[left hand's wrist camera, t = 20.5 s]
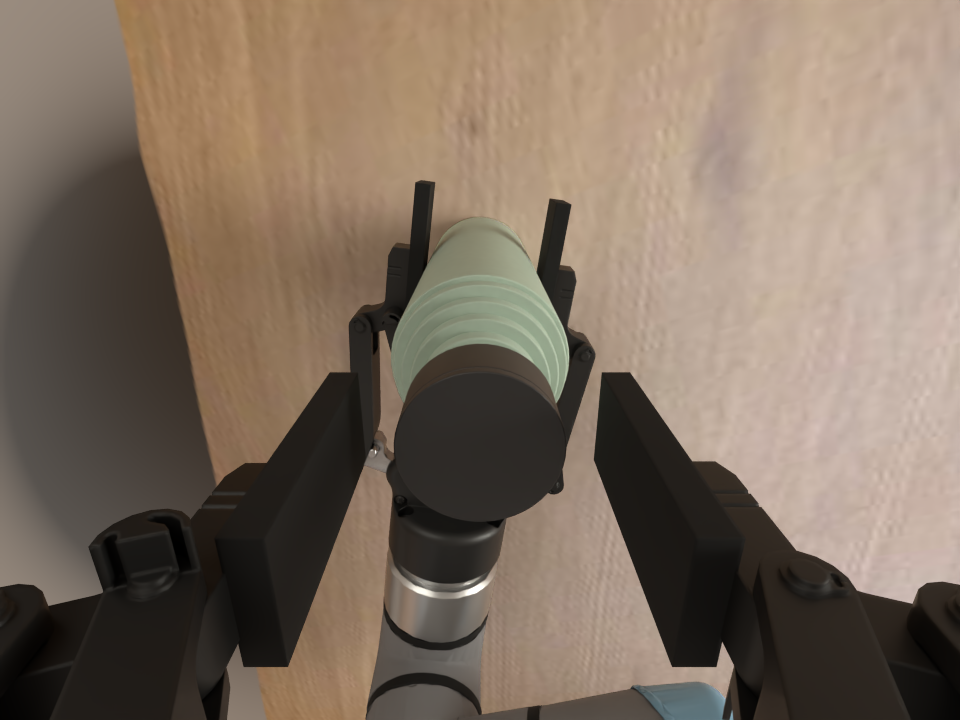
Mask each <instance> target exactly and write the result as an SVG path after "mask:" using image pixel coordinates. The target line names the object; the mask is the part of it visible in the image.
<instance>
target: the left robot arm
mask: <svg viewBox="0 0 960 720" xmlns="http://www.w3.org/2000/svg"><path fill="white" fill-rule="evenodd" d="M365 461H366V453H365V442H364V432H363V421H362V410H361V399H360V388H359V377H358V372H330V373H329V375H328V376H327V378H326V379H325V380H324V382H323V383H322V385H321V386H320V388H319V389H318V390H317V392H316V393H315V395H314V396H313V398H312V399H311V400H310V402H309V403H308V405H307V406H306V408H305V409H304V410H303V412H302V413H301V415H300V416H299V418H298V419H297V420H296V422H295V423H294V425H293V426H292V428H291V429H290V430H289V432H288V433H287V435H286V436H285V438H284V439H283V441H282V442H281V443H280V445H279V446H278V448H277V449H276V451H275V452H274V453H273V455H272V456H271V458H270V459H269V461H268V462H267V463H245V464H243V465H242V466H240V467H239V468H237V469H236V470H234V471H233V472H231V473H230V474H228V475H227V476H225V477H224V478H223V480H222V481H221V482H220V483H219V485H218V486H217V487H216V488H215V490H214V491H213V492H212V496H209V497H208V498H207V500H206V501H205V502H204V503H203V505H202V509H199V510H198V511H197V512H196V514H195V515H194V516H193V517H192V518H191V520H190V518H189V517H188V516H187V515H186V514H184V513H183V512H182V511H177V510H172V509H160V510H150V511H146V512H143V513H139V514H136V515H132V516H130V517H128V518H125V519H123V520H121V521H119V522H117V523H115V524H113V525H111V526H110V527H109V528H107V529H106V530H104V531H103V532H102V533H100V534H99V535H98V536H97V537H96V538H95V539H94V541H93V542H92V543H91V544H90V546H89V550H90V553H91V556H92V559H93V562H94V565H95V568H96V571H97V574H98V577H99V580H100V583H101V586H102V589H103V593H101V594H98V595H95V596H90V597H86V598H82V599H77V600H73V601H69V602H64V603H60V604H55V605H51V606H48V604H47V602H46V599H45V597H44V594H43V592H42V591H41V590H40V589H38V588H37V587H35V586H34V585H24V584H16V585H10V586H5V587H0V720H227V713H228V704H229V694H230V683H229V677H228V672H227V668H226V667H227V664H228V663H229V661H230V658H231V657H232V654H233V653H234V651H235V649H236V647H237V645H238V644H239V649H240V653H241V657H242V662H243V666H244V667H288V665H289V663H290V660H291V657H292V655H293V652H294V649H295V647H296V644H297V641H298V639H299V636H300V633H301V631H302V628H303V626H304V623H305V620H306V618H307V615H308V612H309V610H310V607H311V604H312V602H313V599H314V596H315V594H316V591H317V588H318V586H319V583H320V580H321V578H322V575H323V573H324V570H325V567H326V565H327V562H328V559H329V557H330V554H331V551H332V549H333V546H334V543H335V541H336V538H337V535H338V533H339V530H340V527H341V525H342V522H343V520H344V517H345V514H346V512H347V509H348V506H349V504H350V501H351V498H352V496H353V493H354V490H355V488H356V485H357V482H358V480H359V477H360V474H361V472H362V469H363V466H364V464H365ZM594 461H595V464H596V467H597V469H598V472H599V474H600V477H601V480H602V482H603V485H604V488H605V490H606V493H607V496H608V498H609V501H610V504H611V506H612V509H613V512H614V514H615V517H616V520H617V522H618V525H619V527H620V530H621V533H622V535H623V538H624V541H625V543H626V546H627V549H628V551H629V554H630V557H631V559H632V562H633V565H634V567H635V570H636V573H637V575H638V578H639V580H640V583H641V586H642V588H643V591H644V594H645V596H646V599H647V602H648V604H649V607H650V610H651V612H652V615H653V618H654V620H655V623H656V626H657V628H658V631H659V633H660V636H661V639H662V641H663V644H664V647H665V649H666V652H667V655H668V657H669V660H670V663H671V665H672V667H716V666H717V662H718V657H719V653H720V649H721V644H722V642H723V644H724V646H725V648H726V650H727V652H728V654H729V656H730V658H731V660H732V662H733V664H734V668H733V672H732V676H731V680H730V684H729V688H728V692H727V696H726V701H725V705H724V710H723V716H722V719H723V720H730V717H731V713H732V712H733V720H960V585H958V584H952V583H947V582H933V583H926V584H925V585H924V586H922V587H921V588H919V589H918V592H917V594H916V597H915V599H914V602H913V604H910V603H906V602H902V601H897V600H893V599H888V598H884V597H880V596H875V595H871V594H866V593H863V592H860V591H857V590H856V589H855V587H854V586H853V584H852V583H851V581H850V580H849V579H848V577H846V576H845V575H844V574H843V573H842V572H840V571H839V570H838V569H837V568H835V567H834V566H833V565H831V564H829V563H827V562H825V561H823V560H821V559H819V558H817V557H815V556H812V555H809V554H806V553H802V552H799V551H796V550H795V548H794V547H793V546H792V545H791V543H790V542H789V541H788V540H787V538H786V537H785V536H784V535H783V533H782V532H781V531H780V530H779V528H778V527H777V526H776V525H775V524H774V522H773V521H772V520H771V519H770V517H769V516H768V515H767V514H766V512H765V511H764V510H763V509H762V507H759V504H758V502H757V501H756V500H755V499H754V497H753V496H752V495H751V494H748V490H747V489H746V487H745V486H744V485H743V484H742V483H741V481H740V480H739V479H738V478H737V476H736V475H735V474H733V473H732V472H730V471H729V470H727V469H726V468H724V467H723V466H721V465H720V464H718V463H717V462H692V461H691V459H690V458H689V456H688V455H687V453H686V452H685V451H684V449H683V448H682V446H681V445H680V443H679V442H678V441H677V439H676V438H675V436H674V435H673V433H672V432H671V430H670V429H669V428H668V426H667V425H666V423H665V422H664V420H663V419H662V418H661V416H660V415H659V413H658V412H657V410H656V409H655V408H654V406H653V405H652V403H651V402H650V400H649V399H648V398H647V396H646V395H645V393H644V392H643V390H642V389H641V388H640V386H639V385H638V383H637V382H636V380H635V379H634V378H633V376H632V375H631V373H630V372H602V377H601V388H600V399H599V410H598V421H597V431H596V442H595V453H594Z"/></svg>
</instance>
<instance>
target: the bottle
mask: <svg viewBox="0 0 960 720" xmlns="http://www.w3.org/2000/svg"><path fill="white" fill-rule="evenodd" d="M468 344H491V345H498V346H501V347H505V348H508V349H511V350H513V351H515V352H518V353H519V354H521V355H523V356H524V357H526V358H527V359H529V360H530V361H531V362H532V363H534V364H535V365H536V366H537V367H538V368H539V369H540V371H541V372H542V373H543V375H544V376H545V377H546V379H547V381H548V383H549V385H550V387H551V389H552V392H553V395H554V398H555V401H556V403H557V401H558V399H559V397H560V395H561V392H562V390H563V387H564V383H565V381H566V377H567V372H568V365H569V348H568V343H567V337H566V334H565V331H564V329H563V326H562V324H561V322H560V320H559V318H558V316H557V314H556V312H555V310H554V308H553V306H552V304H551V302H550V299H549V297H548V295H547V293H546V291H545V289H544V287H543V285H542V283H541V281H540V279H539V277H538V275H537V273H536V271H535V269H534V267H533V265H532V263H531V261H530V259H529V257H528V255H527V253H526V251H525V249H524V246H523V244H522V242H521V241H520V239H519V237H518V236H517V235H516V233H515V232H514V231H513V230H512V229H511V228H509V227H508V226H507V225H505V224H504V223H502V222H500V221H498V220H495V219H491V218H486V217H474V218H469V219H465V220H463V221H460V222H458V223H456V224H455V225H453V226H452V227H451V228H449V229H448V230H447V231H446V232H445V233H444V235H443V236H442V237H441V239H440V241H439V242H438V244H437V246H436V248H435V250H434V252H433V255H432V257H431V259H430V261H429V263H428V265H427V267H426V269H425V271H424V273H423V275H422V277H421V279H420V281H419V283H418V285H417V287H416V289H415V291H414V293H413V295H412V297H411V299H410V301H409V303H408V306H407V308H406V310H405V312H404V314H403V316H402V318H401V320H400V322H399V324H398V327H397V329H396V331H395V334H394V338H393V343H392V350H391V366H392V371H393V377H394V380H395V383H396V386H397V389H398V393H399V395H400V397H401V399H402V401H403V403H404V402H405V399H406V395H407V392H408V389H409V387H410V385H411V383H412V381H413V379H414V378H415V376H416V375H417V373H418V372H419V371H420V370H421V369H422V367H423V366H425V365H426V364H427V363H428V362H429V361H430V360H432V359H433V358H434V357H436V356H437V355H439V354H441V353H443V352H445V351H447V350H450V349H452V348H455V347H459V346H463V345H468Z"/></svg>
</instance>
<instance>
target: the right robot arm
mask: <svg viewBox="0 0 960 720" xmlns="http://www.w3.org/2000/svg"><path fill="white" fill-rule="evenodd" d="M434 189H435V182H430V181H423V180H421V181H418V182H415V194H414V205H413V217H412V229H411V240H410V244H402V243H396V244H395V245H394V246H393V248H392V250H391V252H390V254H389V256H388V269H387V283H386V297H385V301H384V302H383V303H380V304H376V305H364V306H362V307H361V308H360V309H359V310H358V312H357V313H356V314H355V315H354V317H353V318H352V319H351V321H350V322H349V344H350V369H351V372H358V377H359V388H360V399H361V410H362V421H363V432H364V442H365V453H366V461H365V464H364V465H365V466H367V467H370V468H373V469H376V470H379V471H382V472H384V473H386V477H387V480H388V482H389V484H390V486H391V488H392V492H393V497H392V508H391V519H390V530H389V549H388V553H387V563H386V576H385V588H384V609H383V617H382V625H381V633H380V641H379V648H378V655H377V660H376V665H375V670H374V675H373V680H372V684H371V689H370V694H369V699H368V704H367V714H366V720H723V719H722V716H723V710H724V705H725V701H726V699H725V698H724V697H723V695H722V694H721V693H720V692H719V691H717V690H716V689H715V688H713V687H712V686H710V685H708V684H706V683H702V682H687V683H675V684H664V685H653V686H640V685H634V686H632V687H631V689H628V690H623V691H618V692H613V693H607V694H602V695H597V696H592V697H586V698H581V699H576V700H571V701H566V702H560V703H555V704H550V705H545V706H542V705H541V706H533V707H525V708H519V709H513V710H507V711H501V712H495V713H489V714H483V715H482V711H481V707H480V667H481V654H482V646H483V639H484V632H485V626H486V620H487V617H488V611H489V608H490V604H491V599H492V594H493V588H494V583H495V578H496V572H497V565H498V558H499V555H500V550H501V545H502V539H503V534H504V529H505V523H506V518H505V519H500V520H495V521H485V522H475V521H465V520H460V519H456V518H452V517H449V516H446V515H443V514H441V513H439V512H437V511H435V510H433V509H431V508H430V507H428V506H427V505H425V504H424V503H423V502H421V501H420V500H419V499H418V498H417V497H416V496H415V495H414V494H413V493H412V492H411V491H410V490H409V488H408V487H407V485H406V484H405V483H404V481H403V479H402V477H401V475H400V473H399V470H398V468H397V465H396V461H395V455H394V453H392V452H390V451H389V450H388V448H387V446H386V442H387V439H386V437H385V435H384V433H383V432H382V431H377V430H378V427H379V423H380V415H381V403H380V347H379V331H383V330H385V332H386V335H387V339H388V343H389V347H390V350H392V343H393V338H394V334H395V331H396V329H397V327H398V324H399V322H400V320H401V318H402V316H403V314H404V312H405V310H406V308H407V306H408V303H409V301H410V299H411V297H412V295H413V293H414V291H415V289H416V287H417V285H418V283H419V281H420V279H421V277H422V275H423V273H424V271H425V269H426V267H427V260H428V250H429V240H430V230H431V220H432V209H433V199H434ZM570 209H571V204H569V203H567V202H565V201H563V200H556V199H550V200H549V205H548V211H547V217H546V222H545V228H544V234H543V239H542V245H541V251H540V256H539V262H538V267H537V275H538V277H539V279H540V281H541V283H542V285H543V287H544V289H545V291H546V293H547V295H548V297H549V299H550V302H551V304H552V306H553V308H554V310H555V312H556V314H557V316H558V318H559V320H560V322H561V324H562V326H563V329H564V331H565V334H566V337H567V343H568V348H569V365H568V372H567V377H566V381H565V383H564V387H563V390H562V392H561V395H560V397H559V399H558V401H557V403H556V404H557V408H558V411H559V414H560V417H561V421H562V424H563V427H564V431H565V436H566V447H567V444H568V441H569V438H570V434H571V431H572V428H573V425H574V422H575V419H576V416H577V413H578V410H579V406H580V403H581V400H582V397H583V394H584V391H585V388H586V385H587V382H588V378H589V375H590V372H591V369H592V366H593V363H594V360H595V351H594V349H593V348H592V346H591V344H590V342H589V341H588V339H587V337H586V336H585V335H584V334H583V333H580V332H576V331H574V330H572V329H570V328H568V320H569V315H570V310H571V305H572V299H573V295H574V290H575V286H576V277H575V272H574V270H573V269H572V268H571V267H570V266H563V265H560V261H561V256H562V251H563V246H564V240H565V235H566V230H567V225H568V220H569V214H570ZM563 487H564V482H563V471H561V473H560V476H559V478H558V479H557V481H556V483H555V484H554V486H553V487H552V488H551V490H550V491H549V492H548V493H549V494H558V493H560V492H561V491H562V490H563ZM730 720H733V712H732V713H731V717H730Z"/></svg>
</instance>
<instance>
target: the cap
mask: <svg viewBox="0 0 960 720" xmlns="http://www.w3.org/2000/svg"><path fill="white" fill-rule="evenodd" d="M394 455H395V461H396V465H397V468H398V470H399V473H400V475H401V477H402V479H403V481H404V483H405V484H406V485H407V487H408V488H409V490H410V491H411V492H412V493H413V494H414V495H415V496H416V497H417V498H418V499H419V500H420V501H421V502H423V503H424V504H425V505H427V506H428V507H430V508H431V509H433V510H435V511H437V512H439V513H441V514H443V515H446V516H449V517H452V518H456V519H460V520H465V521H475V522H485V521H495V520H500V519H505V518H508V517H511V516H514V515H517V514H519V513H521V512H523V511H525V510H527V509H529V508H530V507H532V506H533V505H535V504H536V503H537V502H539V501H540V500H541V499H542V498H543V497H544V496H545V495H546V494H547V493H548V492H549V491H550V490H551V488H552V487H553V486H554V484H555V483H556V481H557V479H558V478H559V476H560V473H561V471H562V468H563V465H564V461H565V457H566V436H565V431H564V427H563V424H562V421H561V417H560V414H559V411H558V408H557V404H556V401H555V398H554V395H553V392H552V389H551V387H550V385H549V383H548V381H547V379H546V377H545V376H544V375H543V373H542V372H541V371H540V369H539V368H538V367H537V366H536V365H535V364H534V363H532V362H531V361H530V360H529V359H527V358H526V357H524V356H523V355H521V354H519V353H518V352H515V351H513V350H511V349H508V348H505V347H501V346H498V345H491V344H468V345H463V346H459V347H455V348H452V349H450V350H447V351H445V352H443V353H441V354H439V355H437V356H436V357H434V358H433V359H432V360H430V361H429V362H428V363H427V364H426V365H425V366H423V367H422V369H421V370H420V371H419V372H418V373H417V375H416V376H415V378H414V379H413V381H412V383H411V385H410V387H409V389H408V392H407V395H406V399H405V402H404V405H403V408H402V411H401V415H400V418H399V421H398V424H397V428H396V432H395V438H394Z"/></svg>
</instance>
